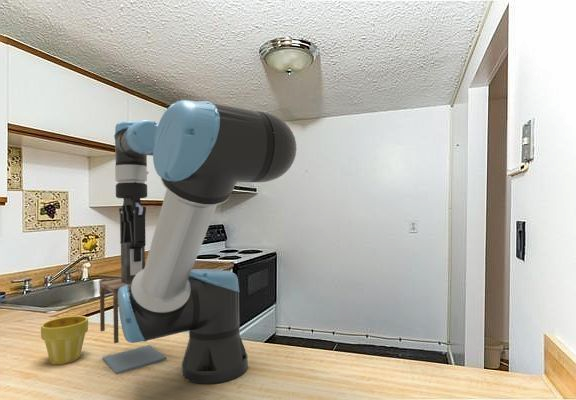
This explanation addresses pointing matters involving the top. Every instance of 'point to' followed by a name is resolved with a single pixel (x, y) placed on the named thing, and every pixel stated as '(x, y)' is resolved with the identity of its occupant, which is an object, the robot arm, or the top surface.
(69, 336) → the plant pot
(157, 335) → the robot arm
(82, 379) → the top surface
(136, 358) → the mat
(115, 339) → the brown legged piece
